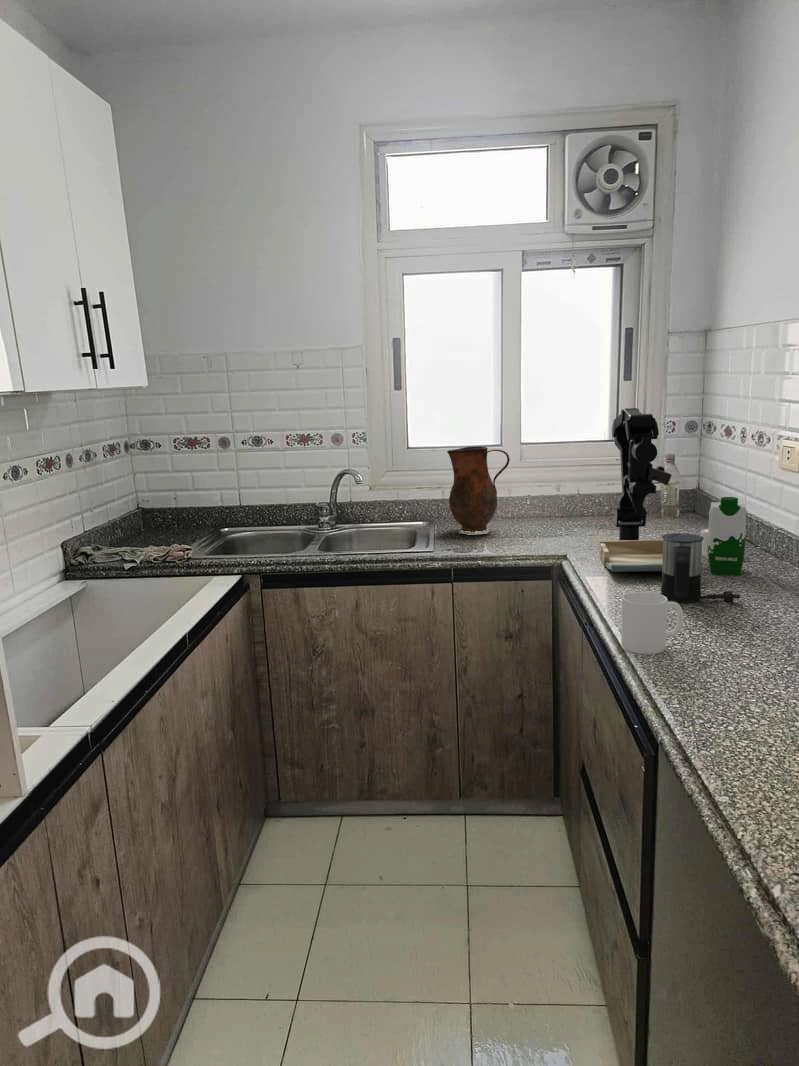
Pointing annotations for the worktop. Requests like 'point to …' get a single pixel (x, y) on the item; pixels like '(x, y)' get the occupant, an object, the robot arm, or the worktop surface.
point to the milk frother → (685, 569)
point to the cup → (647, 622)
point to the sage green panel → (635, 566)
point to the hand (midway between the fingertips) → (638, 513)
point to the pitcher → (473, 488)
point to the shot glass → (705, 541)
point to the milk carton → (726, 536)
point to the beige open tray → (631, 551)
